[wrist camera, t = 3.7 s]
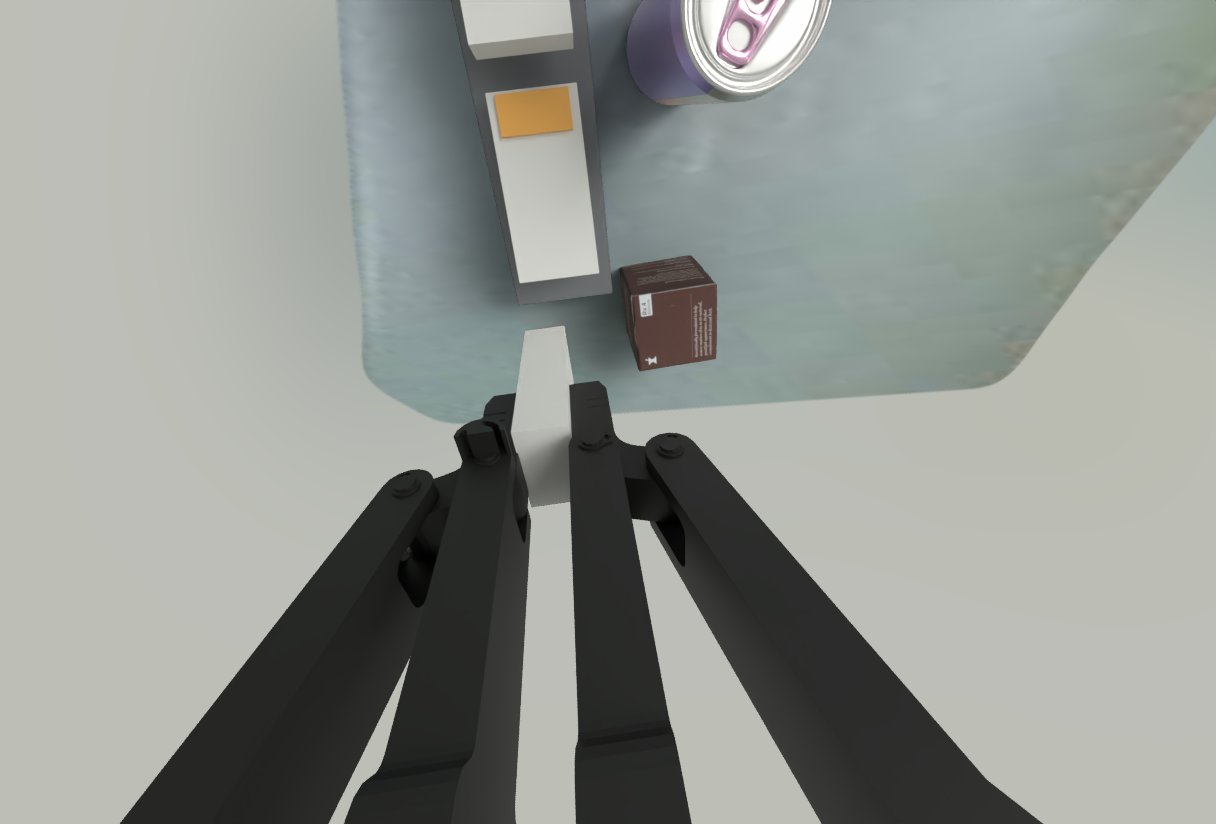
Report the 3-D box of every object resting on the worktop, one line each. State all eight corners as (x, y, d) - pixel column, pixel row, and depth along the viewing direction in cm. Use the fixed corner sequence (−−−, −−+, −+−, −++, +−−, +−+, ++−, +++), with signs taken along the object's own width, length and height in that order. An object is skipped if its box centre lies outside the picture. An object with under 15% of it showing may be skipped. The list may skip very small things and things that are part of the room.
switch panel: (417, -210, 22) (385, -281, 18) (558, -224, 22) (558, -298, 18) (522, 287, 36) (518, 309, 32) (607, 276, 36) (613, 296, 32)
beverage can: (609, 76, 29) (647, 51, 16) (652, -39, 26) (737, -176, 14) (687, 122, 31) (774, 130, 18) (735, 19, 28) (877, -55, 15)
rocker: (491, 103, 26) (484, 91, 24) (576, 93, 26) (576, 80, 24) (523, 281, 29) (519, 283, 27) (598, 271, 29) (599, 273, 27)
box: (693, 322, 39) (717, 361, 33) (626, 333, 39) (638, 373, 33) (691, 253, 36) (718, 281, 30) (618, 264, 36) (630, 295, 30)
